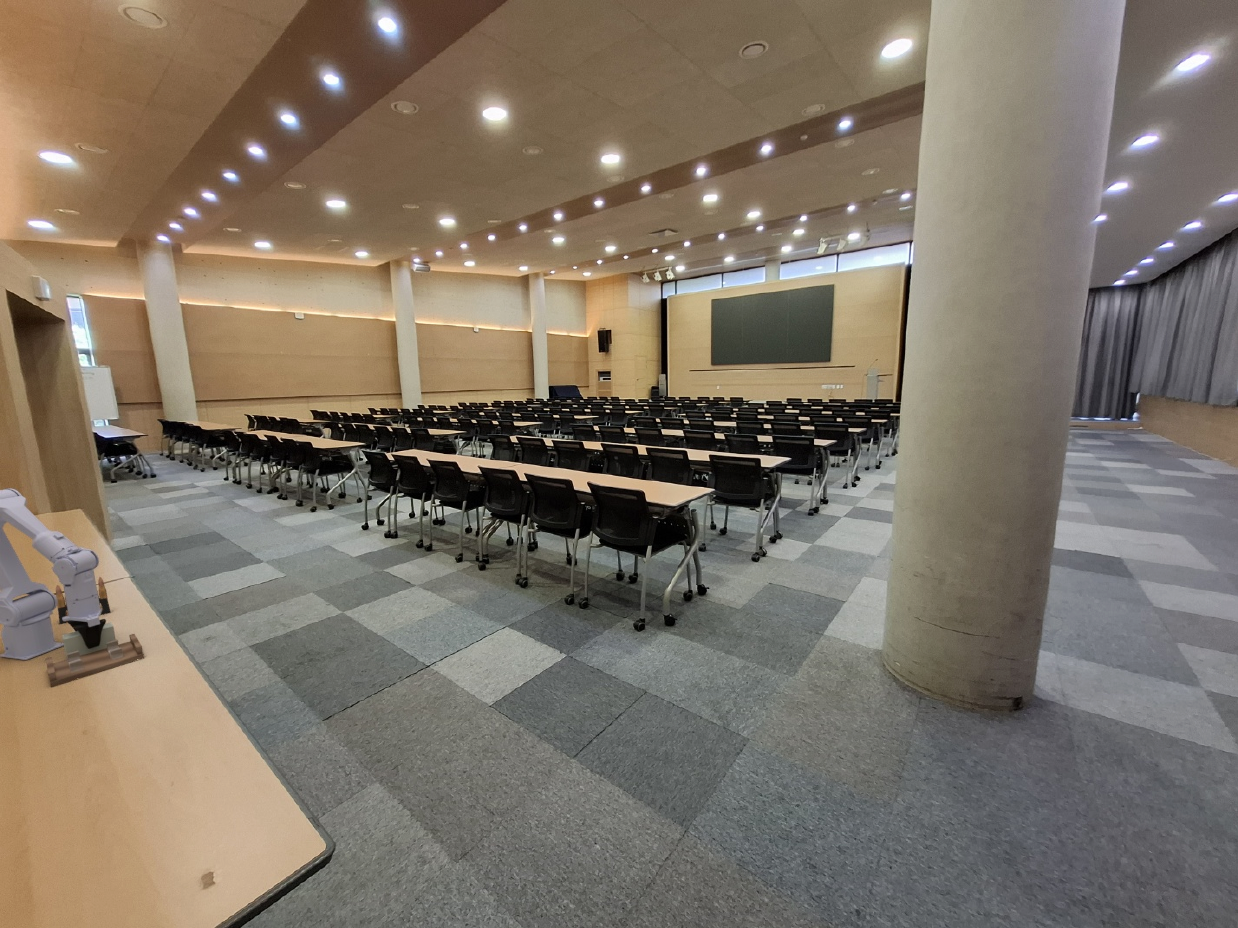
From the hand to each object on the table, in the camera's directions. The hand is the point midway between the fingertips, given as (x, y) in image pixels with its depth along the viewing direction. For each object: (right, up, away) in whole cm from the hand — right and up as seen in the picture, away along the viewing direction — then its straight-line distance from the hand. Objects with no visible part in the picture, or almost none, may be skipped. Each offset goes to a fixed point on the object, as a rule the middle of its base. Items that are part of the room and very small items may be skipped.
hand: (90, 644), depth 131 cm
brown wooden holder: (+8, -3, -6) cm, 10 cm away
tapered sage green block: (0, -2, 0) cm, 2 cm away
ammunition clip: (-23, +1, +20) cm, 31 cm away
